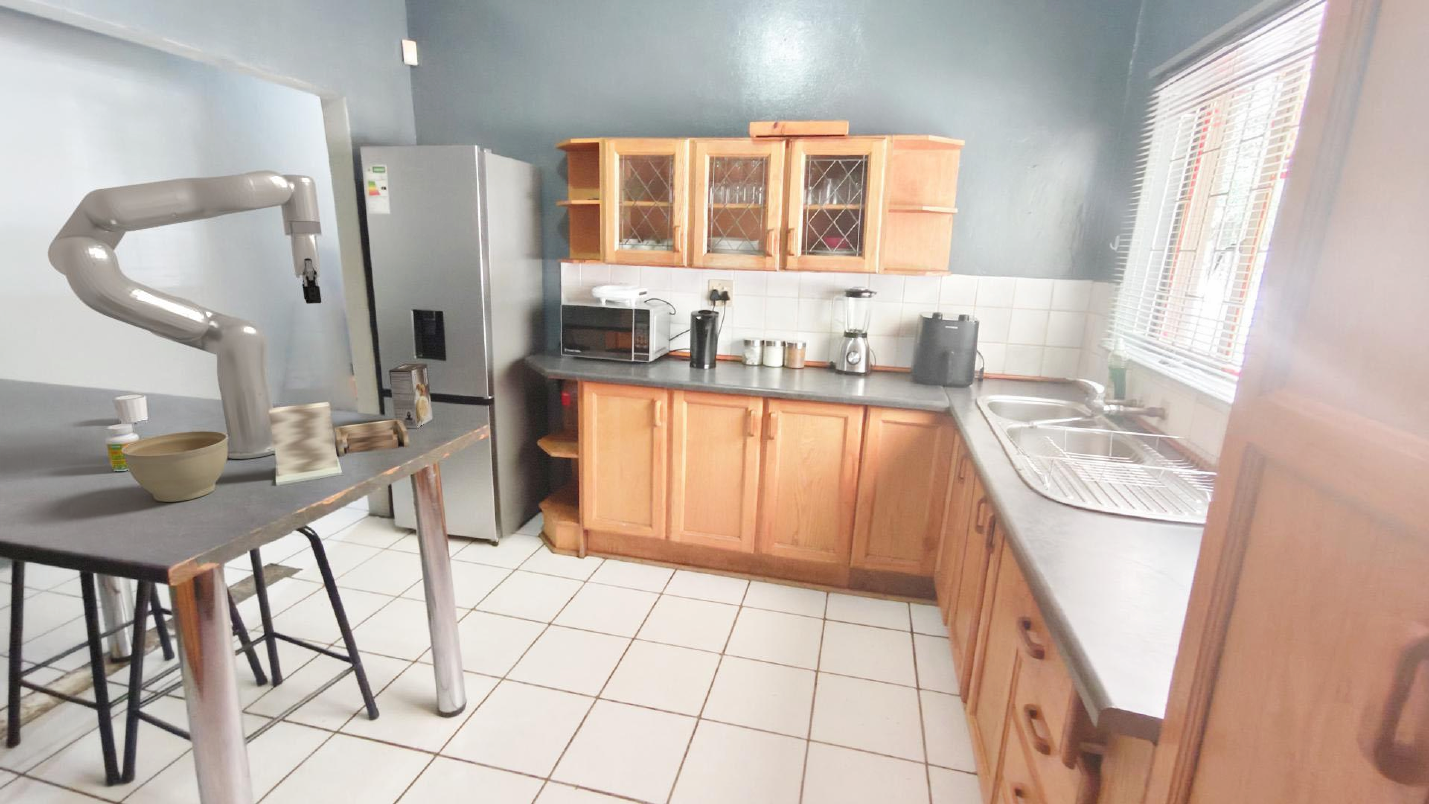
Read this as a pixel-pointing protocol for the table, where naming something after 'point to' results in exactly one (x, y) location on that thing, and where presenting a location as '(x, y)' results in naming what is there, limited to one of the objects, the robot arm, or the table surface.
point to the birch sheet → (303, 438)
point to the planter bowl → (178, 463)
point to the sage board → (308, 475)
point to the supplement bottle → (119, 444)
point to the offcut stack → (371, 441)
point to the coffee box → (411, 394)
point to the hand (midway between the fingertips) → (312, 301)
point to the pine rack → (393, 425)
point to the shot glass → (131, 407)
